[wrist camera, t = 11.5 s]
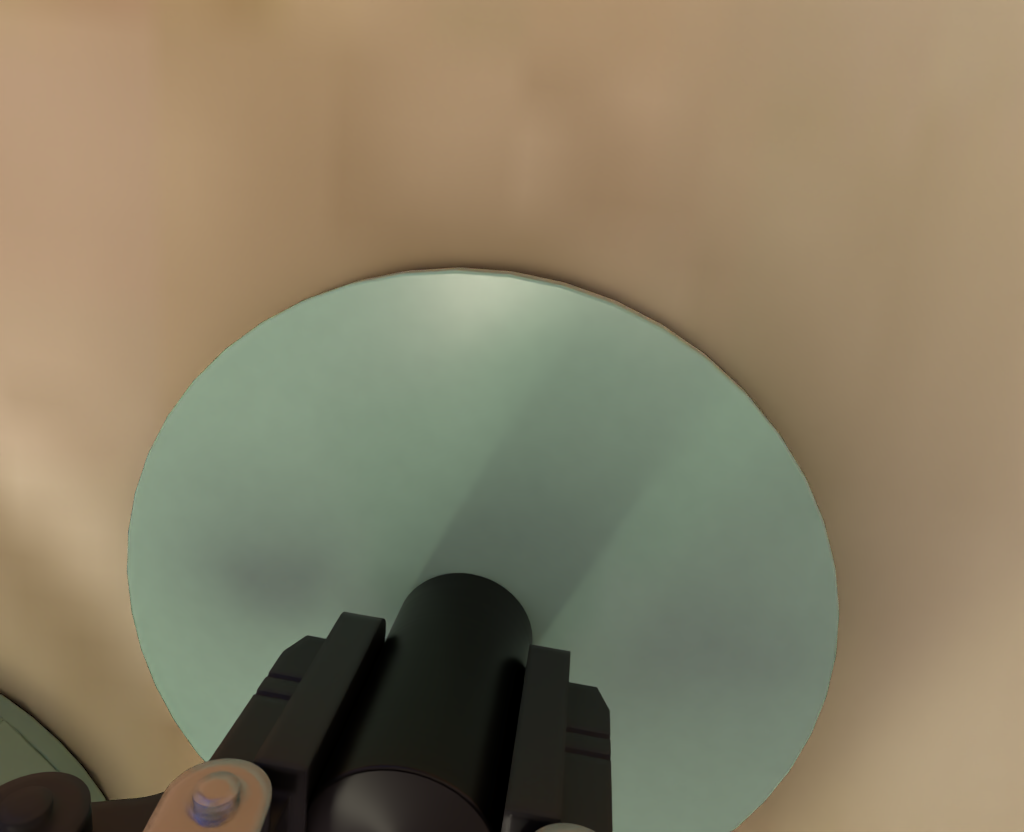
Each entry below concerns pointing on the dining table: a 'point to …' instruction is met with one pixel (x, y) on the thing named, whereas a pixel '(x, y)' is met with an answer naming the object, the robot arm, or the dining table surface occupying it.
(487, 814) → the lid
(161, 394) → the dining table surface
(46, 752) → the pot
